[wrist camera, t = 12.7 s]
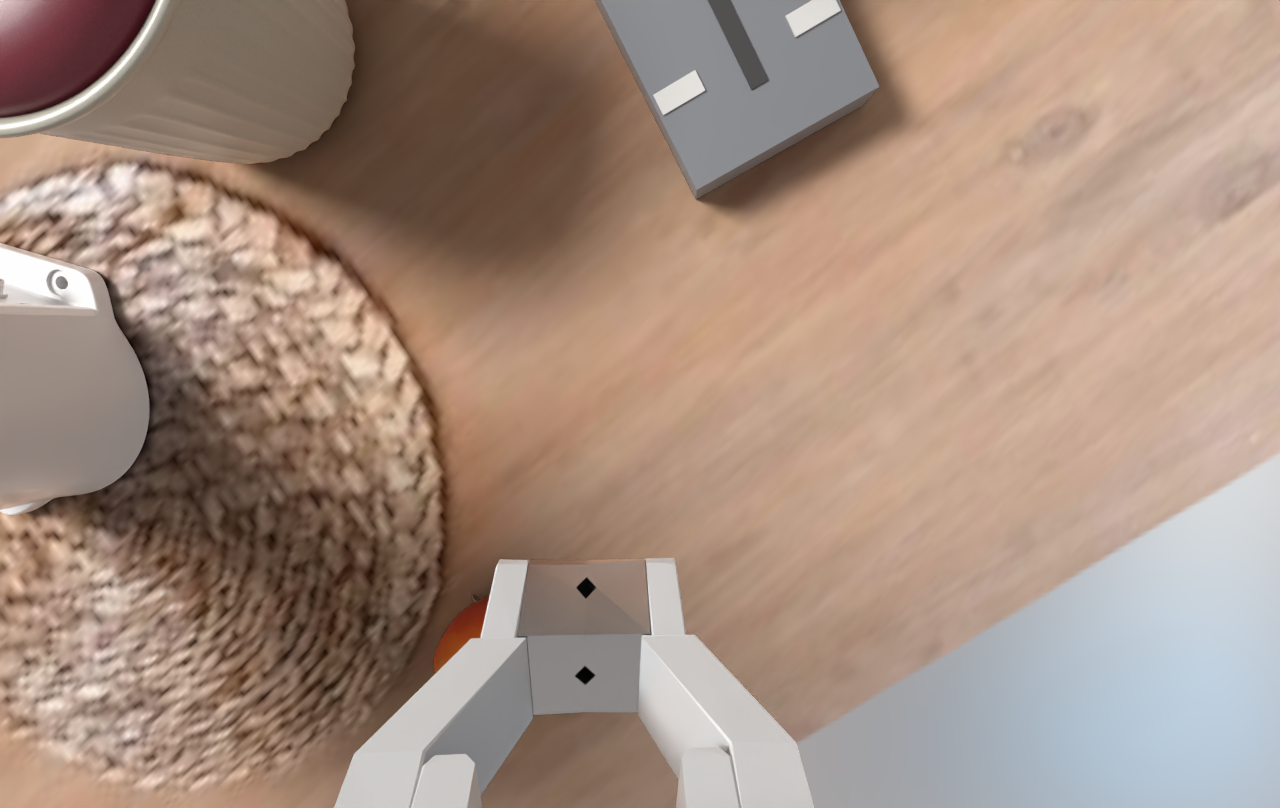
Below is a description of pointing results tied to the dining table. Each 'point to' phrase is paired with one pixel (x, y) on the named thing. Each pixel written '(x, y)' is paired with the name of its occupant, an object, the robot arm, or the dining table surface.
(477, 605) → the fruit
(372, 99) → the dining table surface
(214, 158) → the canister
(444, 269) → the dining table surface
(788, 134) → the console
